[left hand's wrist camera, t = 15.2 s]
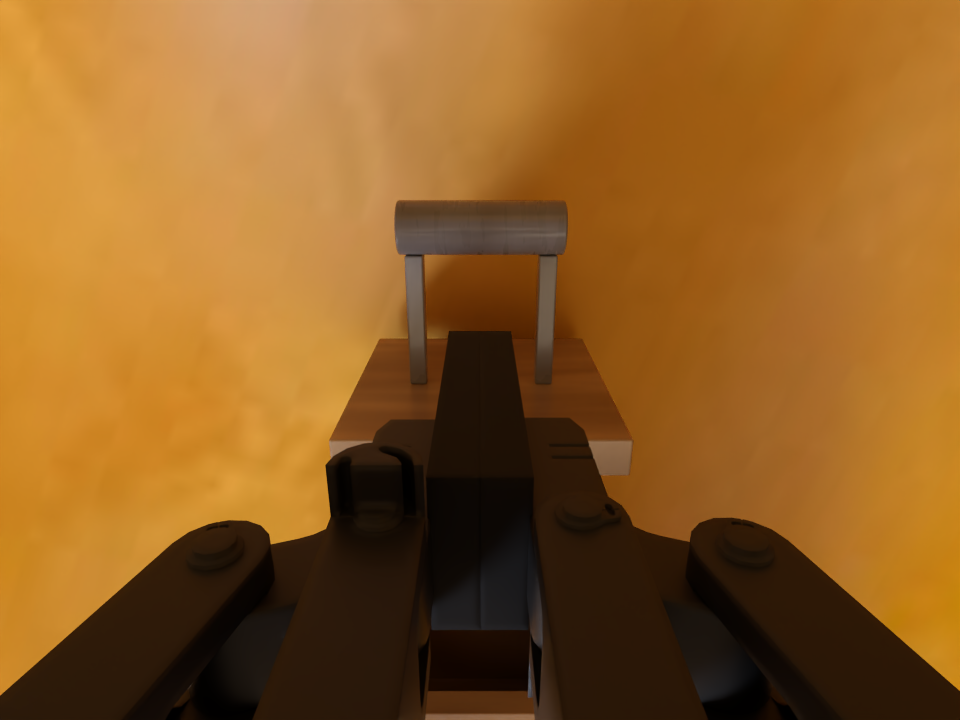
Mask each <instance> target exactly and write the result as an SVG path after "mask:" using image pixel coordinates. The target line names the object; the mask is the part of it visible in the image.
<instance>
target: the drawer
mask: <svg viewBox="0 0 960 720" xmlns="http://www.w3.org/2000/svg"><path fill="white" fill-rule="evenodd" d="M567 233H568V213H567V205H566V202H565V201H501V200H399V201H397V203H396V207H395V241H396V248H397V251H398V253H399V254H400V255H406V256H405V277H406V300H407V322H408V339H379V341H378V343H377V345H376V347H375V349H374V351H373V353H372V355H371V357H370V359H369V361H368V363H367V365H366V367H365V369H364V371H363V373H362V375H361V377H360V379H359V381H358V384H357V386H356V388H355V390H354V392H353V394H352V396H351V398H350V400H349V402H348V404H347V406H346V408H345V410H344V412H343V414H342V416H341V418H340V420H339V422H338V424H337V426H336V428H335V430H334V432H333V434H332V436H331V438H330V440H329V444H330V454H331V458H332V457H333V456H334V455H336V454H338V453H339V452H341V451H343V450H345V449H347V448H350V447H353V446H356V445H360V444H363V443H372V442H373V439H374V436H375V433H376V431H377V430H379V429H380V428H381V427H382V426H384V425H385V424H386V423H387V422H388V421H390V420H391V419H435V417H436V411H437V404H438V398H439V392H440V385H441V379H442V373H443V367H444V360H445V354H446V348H447V341H448V339H427V325H426V295H425V264H424V255H538V267H537V296H536V324H535V339H512V341H513V348H514V354H515V360H516V367H517V373H518V379H519V385H520V392H521V398H522V404H523V411H524V417H525V418H570V419H572V420H573V421H574V422H575V423H577V424H578V425H579V426H580V427H581V428H583V429H584V431H585V434H586V436H587V439H588V442H589V447H590V448H591V451H592V453H593V459H595V462H596V465H597V468H598V470H599V473H600V475H629V474H630V468H631V458H632V448H633V439H632V437H631V435H630V433H629V431H628V429H627V427H626V425H625V423H624V421H623V419H622V417H621V415H620V413H619V411H618V409H617V407H616V405H615V403H614V401H613V399H612V398H611V396H610V394H609V392H608V390H607V388H606V386H605V384H604V382H603V380H602V378H601V376H600V374H599V372H598V370H597V368H596V366H595V364H594V362H593V360H592V358H591V356H590V354H589V352H588V350H587V348H586V346H585V344H584V342H583V340H582V339H554V325H555V304H556V282H557V261H558V257H557V255H562V254H564V252H565V249H566V243H567ZM430 653H431V662H430V673H429V684H428V691H528V679H529V653H530V622H529V627H528V630H432V627H431V625H430Z"/></svg>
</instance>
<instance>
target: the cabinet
mask: <svg viewBox="0 0 960 720" xmlns="http://www.w3.org/2000/svg"><path fill="white" fill-rule="evenodd" d="M425 720H535V716H534V705H533V697H528V691H428V695H427V706H426V717H425Z"/></svg>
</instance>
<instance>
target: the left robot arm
mask: <svg viewBox="0 0 960 720" xmlns="http://www.w3.org/2000/svg"><path fill="white" fill-rule="evenodd" d="M326 475H327V484H328V494H329V503H330V513H331V518H330V520H329V523H328V526H327V528H326V529H325V530H323V531H321V532H318V533H316V534H314V535H310V536H307V537H303V538H300V539H295V540H291V541H286V542H281V543H276V544H270V537H269V534H268V533H267V532H266V531H265V529H264V528H263V527H262V526H260V525H258V524H255V523H252V522H249V521H233V520H228V521H222V522H216V523H212V524H208V525H206V526H203V527H201V528H198V529H196V530H193V531H191V532H189V533H187V534H186V535H184V536H183V537H181V538H180V539H178V540H177V541H175V542H174V543H172V544H171V545H170V546H169V547H168V548H167V549H166V550H164V551H163V552H162V553H161V554H160V555H159V556H158V557H157V558H155V559H154V560H153V561H152V562H151V563H150V564H149V565H147V566H146V567H145V568H144V569H143V570H142V571H141V572H140V573H138V574H137V575H136V576H135V577H134V578H133V579H132V580H131V581H129V582H128V583H127V584H126V585H125V586H124V587H123V588H121V589H120V590H119V591H118V592H117V593H116V594H115V595H114V596H112V597H111V598H110V599H109V600H108V601H107V602H106V603H105V604H103V605H102V606H101V607H100V608H99V609H98V610H97V611H95V612H94V613H93V614H92V615H91V616H90V617H89V618H88V619H86V620H85V621H84V622H83V623H82V624H81V625H80V626H79V627H77V628H76V629H75V630H74V631H73V632H72V633H71V634H69V635H68V636H67V637H66V638H65V639H64V640H63V641H62V642H60V643H59V644H58V645H57V646H56V647H55V648H54V649H53V650H51V651H50V652H49V653H48V654H47V655H46V656H45V657H43V658H42V659H41V660H40V661H39V662H38V663H37V664H36V665H34V666H33V667H32V668H31V669H30V670H29V671H28V672H27V673H25V674H24V675H23V676H22V677H21V678H20V679H19V680H17V681H16V682H15V683H14V684H13V685H12V686H11V687H10V688H8V689H7V690H6V691H5V692H4V693H3V694H2V695H1V696H0V720H425V717H426V706H427V695H428V684H429V673H430V662H431V653H430V625H431V627H432V630H528V627H529V622H530V653H529V679H528V697H533V705H534V716H535V720H960V691H959V690H958V689H957V688H956V687H954V686H953V685H952V684H951V683H950V682H949V681H948V680H946V679H945V678H944V677H943V676H942V675H941V674H940V673H938V672H937V671H936V670H935V669H934V668H933V667H932V666H930V665H929V664H928V663H927V662H926V661H925V660H924V659H922V658H921V657H920V656H919V655H918V654H917V653H916V652H915V651H913V650H912V649H911V648H910V647H909V646H908V645H907V644H905V643H904V642H903V641H902V640H901V639H900V638H899V637H897V636H896V635H895V634H894V633H893V632H892V631H891V630H889V629H888V628H887V627H886V626H885V625H884V624H883V623H881V622H880V621H879V620H878V619H877V618H876V617H875V616H873V615H872V614H871V613H870V612H869V611H868V610H867V609H866V608H864V607H863V606H862V605H861V604H860V603H859V602H858V601H856V600H855V599H854V598H853V597H852V596H851V595H850V594H848V593H847V592H846V591H845V590H844V589H843V588H842V587H840V586H839V585H838V584H837V583H836V582H835V581H834V580H832V579H831V578H830V577H829V576H828V575H827V574H826V573H824V572H823V571H822V570H821V569H820V568H819V567H818V566H817V565H815V564H814V563H813V562H812V561H811V560H810V559H809V558H807V557H806V556H805V555H804V554H803V553H802V552H801V551H799V550H798V549H797V548H796V547H795V546H794V545H793V544H791V543H790V542H789V541H788V540H786V539H785V538H784V537H782V536H781V535H779V534H778V533H776V532H775V531H773V530H772V529H769V528H767V527H764V526H762V525H759V524H757V523H754V522H751V521H747V520H741V519H736V518H713V519H710V520H707V521H704V522H701V523H699V524H698V525H697V526H696V527H695V528H694V529H693V530H692V531H691V537H690V542H686V541H682V540H677V539H672V538H667V537H662V536H659V535H655V534H651V533H648V532H645V531H643V530H641V529H638V528H636V527H634V526H633V525H632V522H631V520H630V517H629V515H628V514H627V512H626V511H625V510H624V508H623V507H622V505H620V504H619V503H617V502H615V501H614V500H612V499H611V498H609V497H608V496H607V493H606V490H605V487H604V484H603V482H602V479H601V476H600V473H599V470H598V468H597V465H596V462H595V459H593V453H592V451H591V448H590V447H589V442H588V439H587V436H586V434H585V431H584V429H583V428H581V427H580V426H579V425H578V424H577V423H575V422H574V421H573V420H572V419H570V418H525V417H524V411H523V404H522V398H521V392H520V385H519V379H518V373H517V367H516V360H515V354H514V348H513V341H512V335H511V331H449V335H448V341H447V348H446V354H445V360H444V367H443V373H442V379H441V385H440V392H439V398H438V404H437V411H436V417H435V419H391V420H390V421H388V422H387V423H386V424H385V425H384V426H382V427H381V428H380V429H379V430H377V431H376V433H375V436H374V439H373V442H372V443H363V444H360V445H356V446H353V447H350V448H347V449H345V450H343V451H341V452H339V453H338V454H336V455H334V456H333V457H332V458H331V459H330V461H329V462H328V463H327V464H326Z"/></svg>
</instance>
